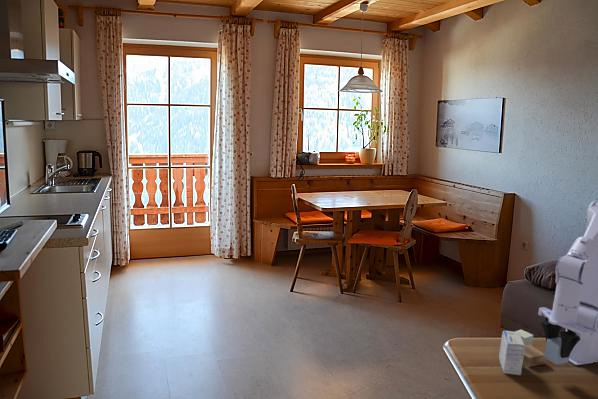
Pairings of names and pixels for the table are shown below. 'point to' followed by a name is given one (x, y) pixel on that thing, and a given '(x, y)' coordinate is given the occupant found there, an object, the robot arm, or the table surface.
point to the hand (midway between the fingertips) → (557, 352)
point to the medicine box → (511, 352)
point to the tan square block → (533, 356)
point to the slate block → (554, 351)
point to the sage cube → (526, 337)
